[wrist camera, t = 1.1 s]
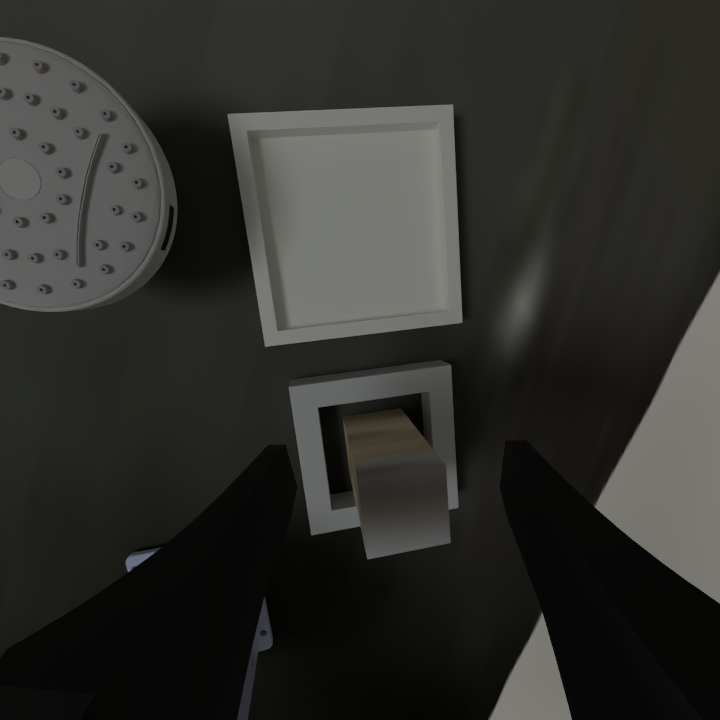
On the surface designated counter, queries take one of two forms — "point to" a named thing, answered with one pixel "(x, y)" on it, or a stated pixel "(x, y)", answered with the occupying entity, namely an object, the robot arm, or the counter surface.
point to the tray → (350, 219)
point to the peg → (396, 484)
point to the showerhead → (75, 186)
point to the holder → (364, 386)
